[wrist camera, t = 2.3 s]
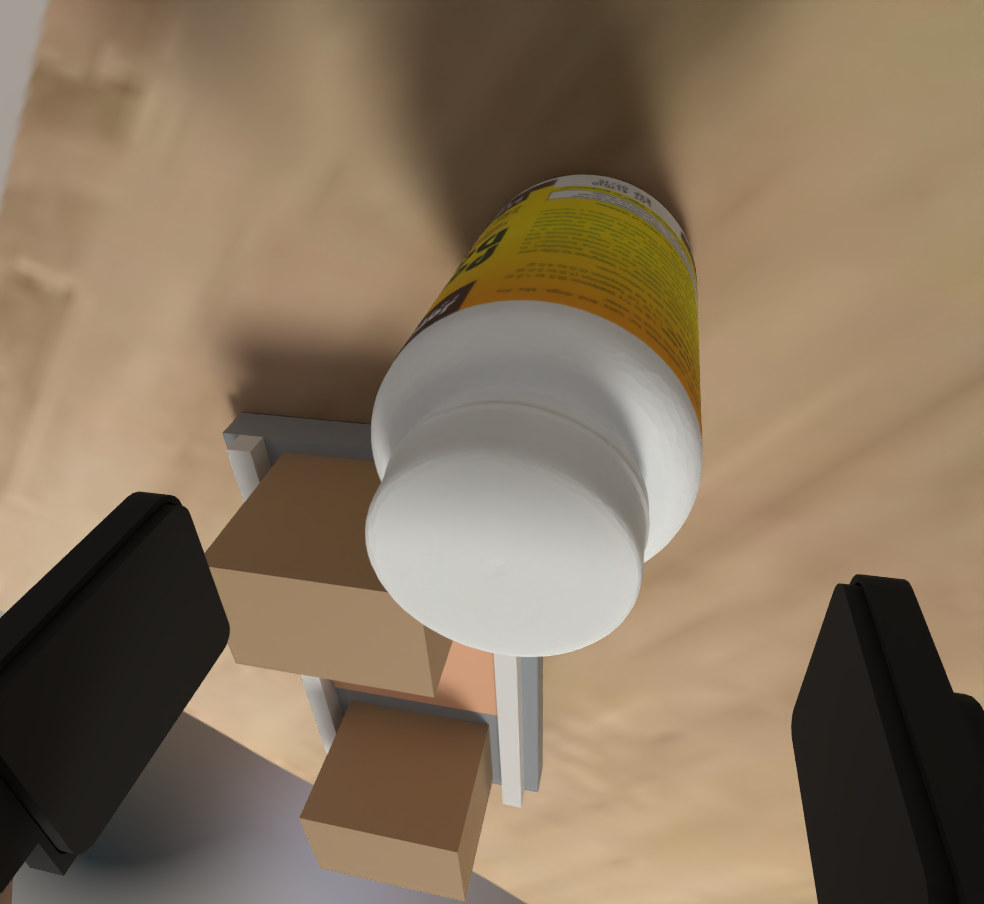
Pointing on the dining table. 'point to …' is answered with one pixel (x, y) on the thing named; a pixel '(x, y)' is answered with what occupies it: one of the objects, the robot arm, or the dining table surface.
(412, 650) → the rail
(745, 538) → the dining table surface
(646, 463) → the supplement bottle
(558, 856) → the dining table surface
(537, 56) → the dining table surface
